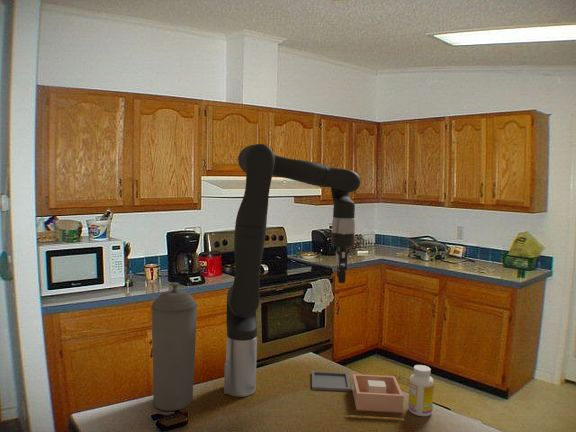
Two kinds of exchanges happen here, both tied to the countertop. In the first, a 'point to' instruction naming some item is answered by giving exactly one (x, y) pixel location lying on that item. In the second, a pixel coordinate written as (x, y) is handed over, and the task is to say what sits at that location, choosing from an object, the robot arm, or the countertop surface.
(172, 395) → the canister
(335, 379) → the tray
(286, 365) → the countertop surface
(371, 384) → the cream rectangular block
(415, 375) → the supplement bottle
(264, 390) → the countertop surface
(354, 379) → the bin
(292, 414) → the countertop surface
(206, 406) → the countertop surface
